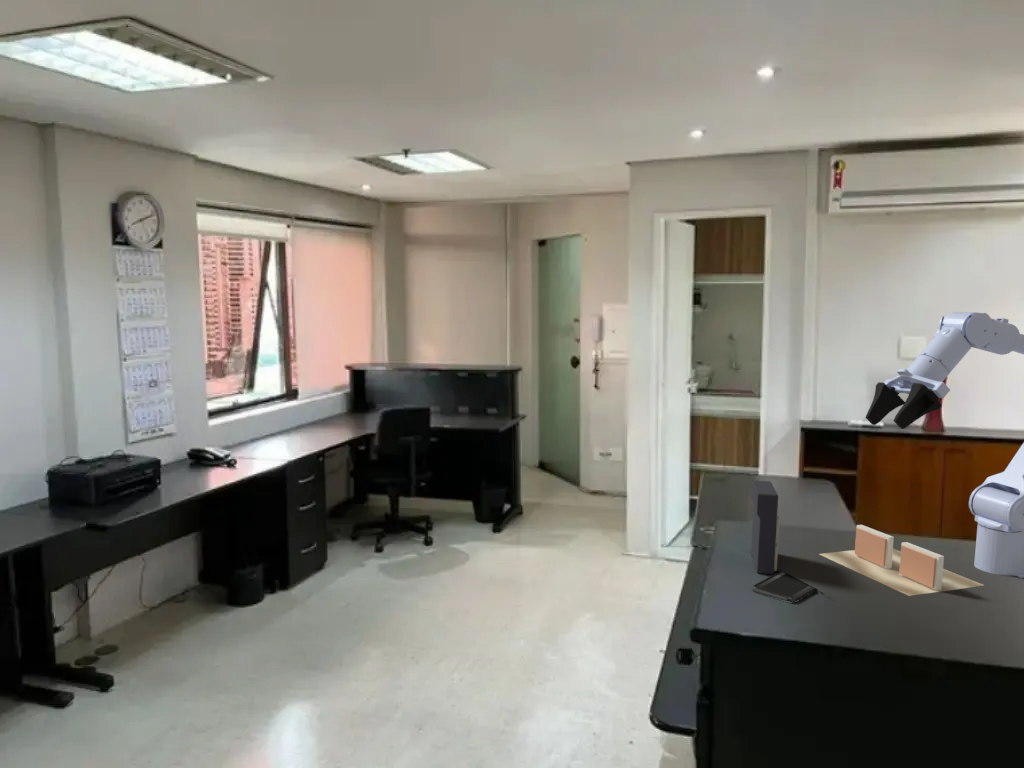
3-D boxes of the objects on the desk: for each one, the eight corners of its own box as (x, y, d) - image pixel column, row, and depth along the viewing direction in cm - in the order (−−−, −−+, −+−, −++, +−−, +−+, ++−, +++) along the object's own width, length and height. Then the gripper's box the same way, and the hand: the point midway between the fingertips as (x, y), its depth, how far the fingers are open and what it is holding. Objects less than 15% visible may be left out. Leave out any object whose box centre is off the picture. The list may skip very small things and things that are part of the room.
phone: (750, 586, 134) (790, 566, 144) (749, 593, 134) (789, 572, 144) (794, 600, 128) (832, 577, 138) (793, 606, 128) (831, 583, 139)
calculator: (778, 575, 141) (782, 495, 140) (753, 573, 142) (757, 493, 140) (770, 556, 152) (774, 481, 150) (747, 554, 153) (751, 479, 151)
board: (887, 550, 157) (887, 546, 157) (984, 589, 136) (984, 585, 136) (818, 557, 151) (818, 553, 151) (908, 600, 131) (909, 595, 130)
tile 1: (859, 554, 151) (861, 524, 151) (891, 568, 144) (893, 537, 143) (852, 555, 151) (854, 525, 150) (884, 569, 143) (886, 537, 142)
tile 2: (904, 573, 141) (906, 541, 140) (941, 589, 133) (944, 556, 133) (897, 574, 140) (899, 542, 140) (934, 590, 133) (936, 557, 132)
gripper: (890, 350, 142) (843, 404, 141) (948, 349, 128) (896, 410, 127) (915, 376, 143) (869, 430, 142) (975, 379, 129) (924, 439, 128)
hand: (883, 423), depth 134 cm, fingers open, 7 cm apart
